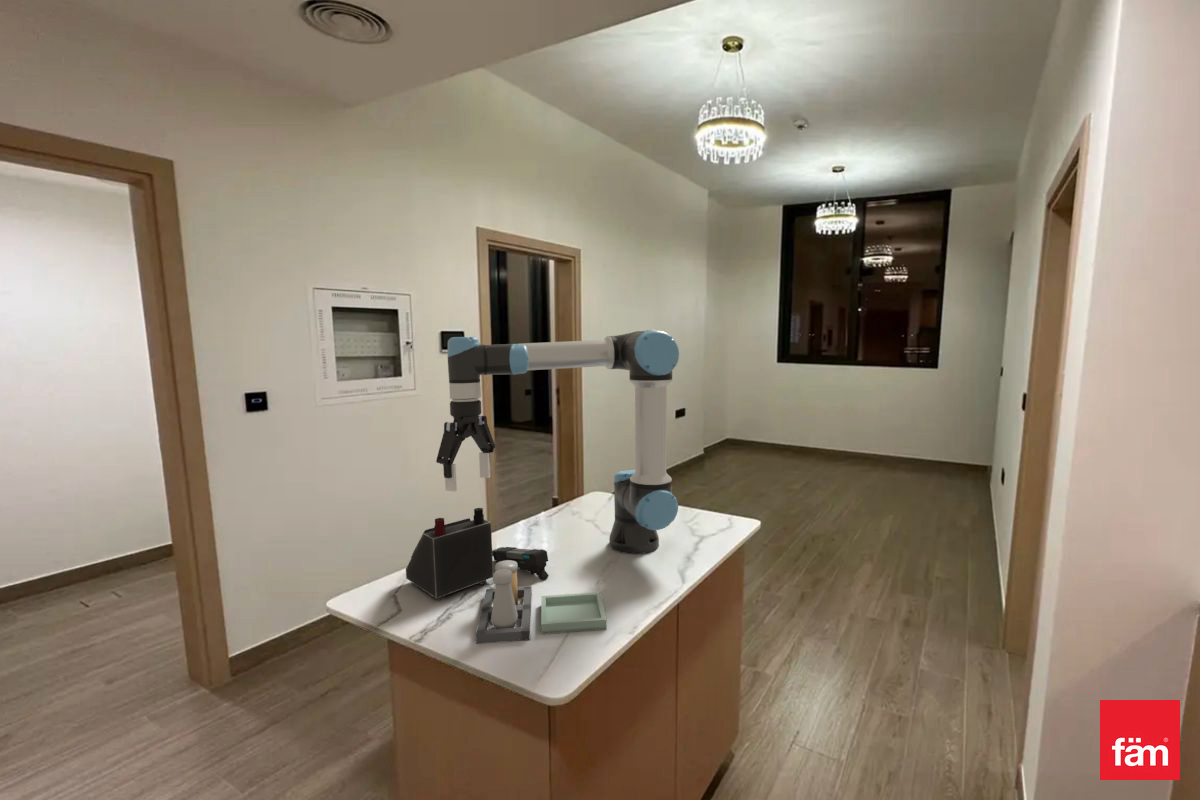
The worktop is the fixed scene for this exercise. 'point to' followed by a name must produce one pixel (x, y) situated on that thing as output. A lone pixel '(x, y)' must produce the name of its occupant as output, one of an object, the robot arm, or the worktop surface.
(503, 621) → the salt shaker
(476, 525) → the voltmeter
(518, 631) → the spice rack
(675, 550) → the worktop surface
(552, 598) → the tray
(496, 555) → the gun
